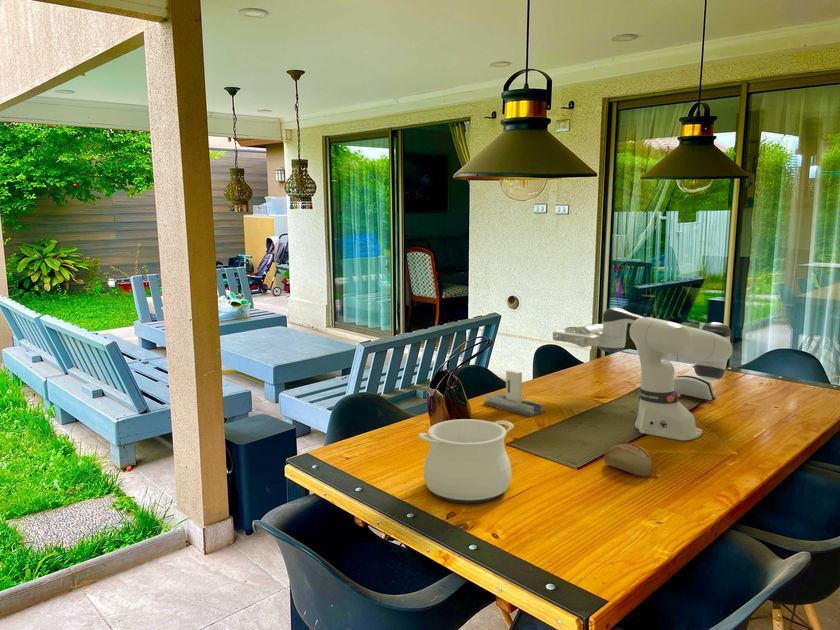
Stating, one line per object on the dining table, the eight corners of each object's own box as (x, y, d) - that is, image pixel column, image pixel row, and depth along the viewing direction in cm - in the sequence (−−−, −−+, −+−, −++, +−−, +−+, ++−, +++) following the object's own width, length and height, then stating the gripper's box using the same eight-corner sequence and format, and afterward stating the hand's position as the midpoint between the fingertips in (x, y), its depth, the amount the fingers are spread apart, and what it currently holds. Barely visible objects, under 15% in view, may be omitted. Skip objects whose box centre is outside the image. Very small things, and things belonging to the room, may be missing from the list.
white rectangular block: (521, 406, 256) (521, 372, 254) (517, 408, 254) (517, 373, 252) (510, 403, 261) (510, 369, 259) (505, 405, 259) (505, 370, 257)
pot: (440, 516, 164) (439, 450, 162) (404, 482, 187) (402, 423, 184) (534, 496, 175) (535, 434, 173) (489, 466, 198) (489, 410, 195)
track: (544, 412, 252) (544, 403, 251) (529, 417, 246) (529, 408, 245) (498, 400, 270) (498, 392, 269) (484, 404, 264) (484, 396, 263)
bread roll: (613, 459, 201) (613, 435, 200) (659, 472, 190) (660, 446, 189) (597, 468, 194) (597, 442, 193) (644, 482, 184) (645, 455, 183)
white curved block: (717, 398, 267) (714, 377, 264) (711, 403, 265) (708, 382, 262) (679, 390, 281) (676, 370, 277) (673, 395, 278) (670, 375, 275)
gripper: (606, 347, 263) (586, 351, 254) (564, 340, 278) (544, 344, 269) (606, 331, 262) (587, 335, 253) (564, 326, 277) (545, 329, 268)
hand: (565, 340), depth 261 cm, fingers open, 8 cm apart
